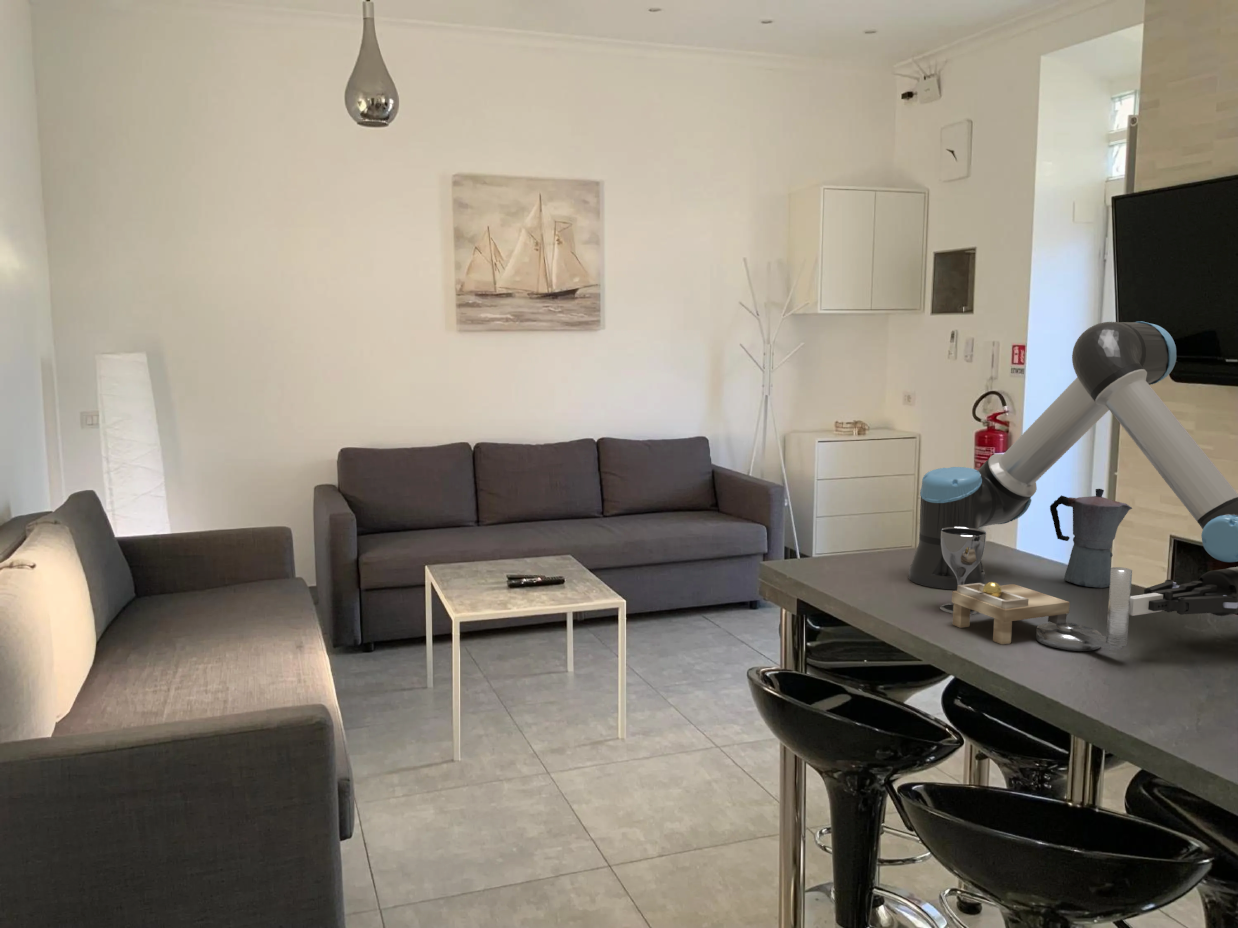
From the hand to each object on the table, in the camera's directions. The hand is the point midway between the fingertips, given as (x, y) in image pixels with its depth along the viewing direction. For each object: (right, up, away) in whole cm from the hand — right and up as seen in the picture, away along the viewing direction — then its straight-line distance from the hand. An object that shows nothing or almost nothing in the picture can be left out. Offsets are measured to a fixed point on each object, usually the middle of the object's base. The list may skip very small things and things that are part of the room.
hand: (1129, 606), depth 156 cm
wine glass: (-16, -5, +30) cm, 35 cm away
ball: (-16, +1, +15) cm, 22 cm away
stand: (-12, -7, +18) cm, 23 cm away
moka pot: (+17, -3, +50) cm, 53 cm away
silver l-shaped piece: (-4, -8, +7) cm, 11 cm away
